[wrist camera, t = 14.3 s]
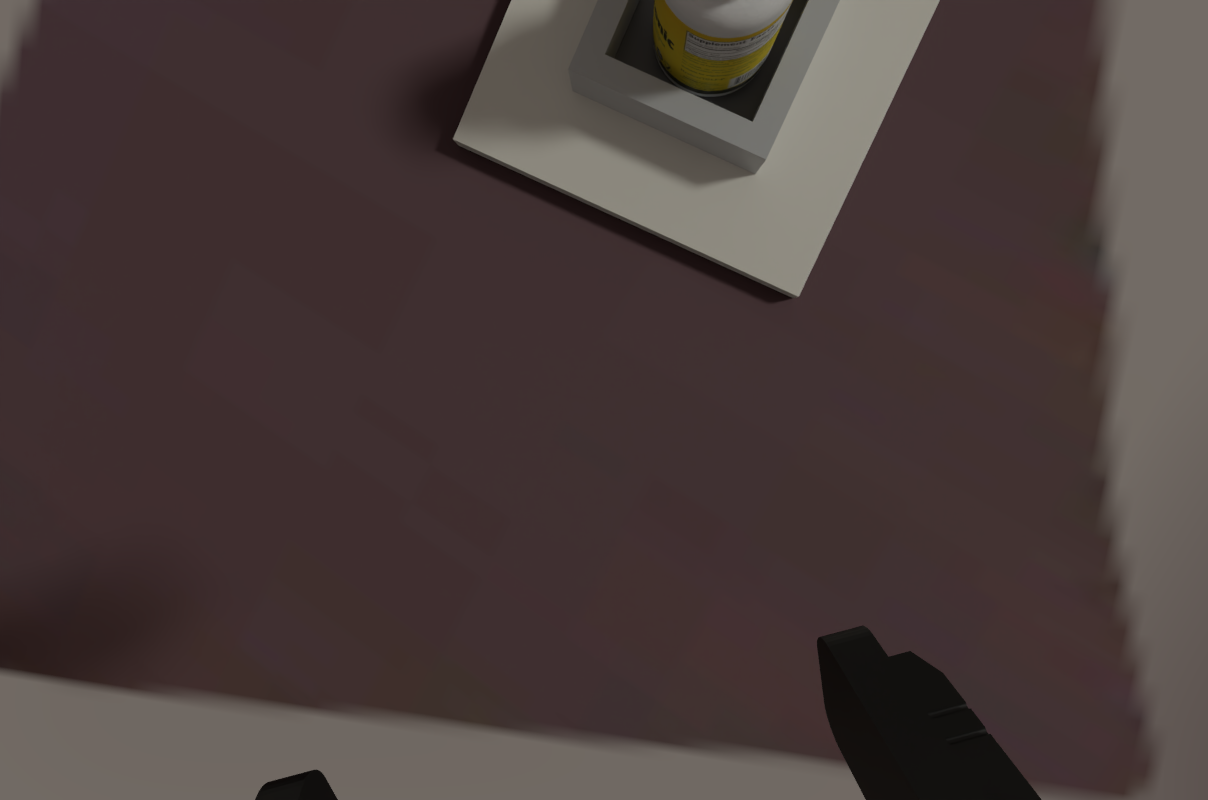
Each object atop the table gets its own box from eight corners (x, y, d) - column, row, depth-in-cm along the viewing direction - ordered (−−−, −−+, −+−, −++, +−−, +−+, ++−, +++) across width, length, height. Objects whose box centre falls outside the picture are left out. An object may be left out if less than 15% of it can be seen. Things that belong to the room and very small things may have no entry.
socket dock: (458, 145, 33) (438, 121, 30) (610, -217, 32) (608, -287, 28) (793, 298, 33) (812, 292, 30) (961, -57, 32) (1003, -107, 28)
